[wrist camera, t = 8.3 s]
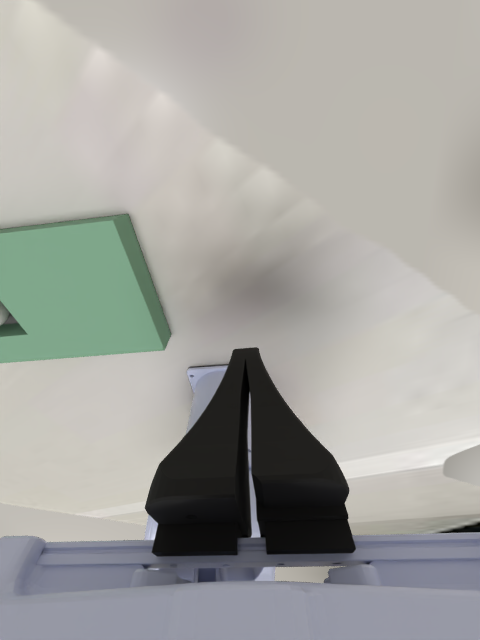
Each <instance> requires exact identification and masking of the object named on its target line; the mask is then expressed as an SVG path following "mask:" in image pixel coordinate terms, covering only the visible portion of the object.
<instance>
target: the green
mask: <svg viewBox="0 0 480 640" xmlns="http://www.w3.org/2000/svg"><path fill="white" fill-rule="evenodd" d="M0 301H1V302H2V303H3V304H4V306H5V307H6V308H7V309H8V311H9V317H8V319H7V320H6V321H5V323H3V324H2V325H1V326H0V363H9V362H22V361H35V360H47V359H60V358H73V357H85V356H98V355H111V354H124V353H136V352H149V351H162V350H165V348H166V346H167V343H168V341H169V339H170V336H171V333H170V330H169V327H168V324H167V322H166V319H165V316H164V313H163V310H162V308H161V305H160V302H159V299H158V296H157V294H156V291H155V288H154V285H153V282H152V280H151V277H150V274H149V271H148V268H147V266H146V263H145V260H144V257H143V254H142V252H141V249H140V246H139V243H138V240H137V238H136V235H135V232H134V229H133V226H132V224H131V221H130V218H129V215H128V214H124V215H116V216H107V217H99V218H91V219H82V220H74V221H66V222H57V223H49V224H41V225H33V226H24V227H16V228H8V229H0Z"/></svg>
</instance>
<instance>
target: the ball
mask: <svg viewBox="0 0 480 640" xmlns="http://www.w3.org/2000/svg"><path fill="white" fill-rule="evenodd" d="M8 317H9V311H8V309H7V308H6V307H5V306H4V304H3V303H2V302H1V301H0V326H1V325H2V324H3V323H5V321H6V320H7V319H8Z"/></svg>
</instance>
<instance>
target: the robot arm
mask: <svg viewBox="0 0 480 640" xmlns="http://www.w3.org/2000/svg"><path fill="white" fill-rule="evenodd" d="M187 375H188V378H189V381H190V384H191V387H192V389H193V392H194V397H193V402H192V407H191V412H190V417H189V421H188V426H187V431H186V435H185V436H184V438H183V439H182V440H181V441H180V442H179V443H178V445H177V446H176V447H175V448H174V449H173V450H172V451H171V452H170V453H169V454H168V455H167V456H166V457H165V458H164V460H163V461H162V462H161V463H160V464H159V466H158V469H157V471H156V473H155V476H154V479H153V481H152V484H151V487H150V490H149V494H148V498H147V501H146V505H145V509H146V511H147V513H148V514H149V516H148V521H147V526H146V532H145V540H126V541H125V540H123V541H80V542H46V541H45V540H43V539H41V538H39V537H35V536H4V537H2V538H0V640H480V533H435V534H391V535H352V533H351V530H350V527H349V523H348V520H347V519H348V513H347V510H346V507H345V504H344V503H345V501H346V499H347V497H348V494H349V487H348V484H347V482H346V479H345V477H344V475H343V473H342V471H341V469H340V467H339V465H338V464H337V462H336V460H335V458H334V457H333V455H332V454H331V453H330V452H329V451H328V450H327V449H326V448H325V447H324V446H323V445H322V444H321V443H320V442H319V441H318V440H317V439H316V438H315V437H314V436H313V435H312V434H311V433H310V432H309V431H308V429H307V428H306V427H305V426H304V425H303V424H302V422H301V421H300V420H299V419H298V418H297V416H296V415H295V414H294V413H293V412H292V410H291V409H290V408H289V406H288V405H287V404H286V402H285V401H284V399H283V398H282V396H281V395H280V393H279V392H278V390H277V389H276V387H275V385H274V384H273V382H272V380H271V378H270V376H269V374H268V373H267V371H266V369H265V366H264V364H263V362H262V359H261V356H260V353H259V349H258V348H257V347H256V348H244V349H234V350H233V353H232V356H231V359H230V362H229V365H226V366H212V367H198V368H189V369H188V370H187ZM305 566H346V567H340V568H333V569H329V571H328V574H329V577H328V578H326V579H325V580H324V583H310V582H287V581H274V579H275V567H305Z"/></svg>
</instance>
